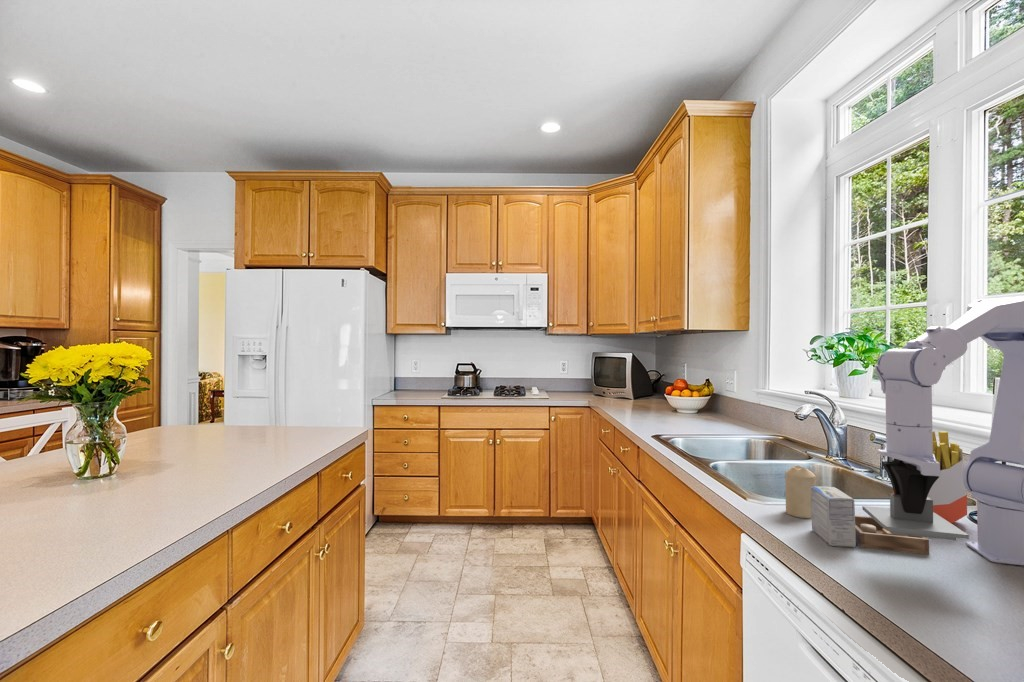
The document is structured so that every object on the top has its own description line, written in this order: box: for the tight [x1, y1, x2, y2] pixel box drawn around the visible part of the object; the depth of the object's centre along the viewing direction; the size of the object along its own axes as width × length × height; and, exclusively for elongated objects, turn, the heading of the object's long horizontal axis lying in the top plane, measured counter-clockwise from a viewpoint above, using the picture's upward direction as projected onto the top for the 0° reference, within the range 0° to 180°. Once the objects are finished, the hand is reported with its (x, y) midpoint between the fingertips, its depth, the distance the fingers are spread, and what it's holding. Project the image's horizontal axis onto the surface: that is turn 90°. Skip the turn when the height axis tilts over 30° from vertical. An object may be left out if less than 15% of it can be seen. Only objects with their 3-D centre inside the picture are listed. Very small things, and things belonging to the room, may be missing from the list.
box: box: [855, 515, 930, 555], centre depth 90 cm, size 10×10×2 cm
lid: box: [861, 493, 970, 541], centre depth 77 cm, size 10×10×5 cm
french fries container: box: [892, 430, 968, 524], centre depth 100 cm, size 5×11×18 cm, turn 63°
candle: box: [784, 465, 816, 519], centre depth 104 cm, size 6×6×10 cm
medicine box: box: [811, 485, 857, 548], centre depth 91 cm, size 8×4×9 cm, turn 168°
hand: (909, 510), depth 77 cm, fingers closed on lid
